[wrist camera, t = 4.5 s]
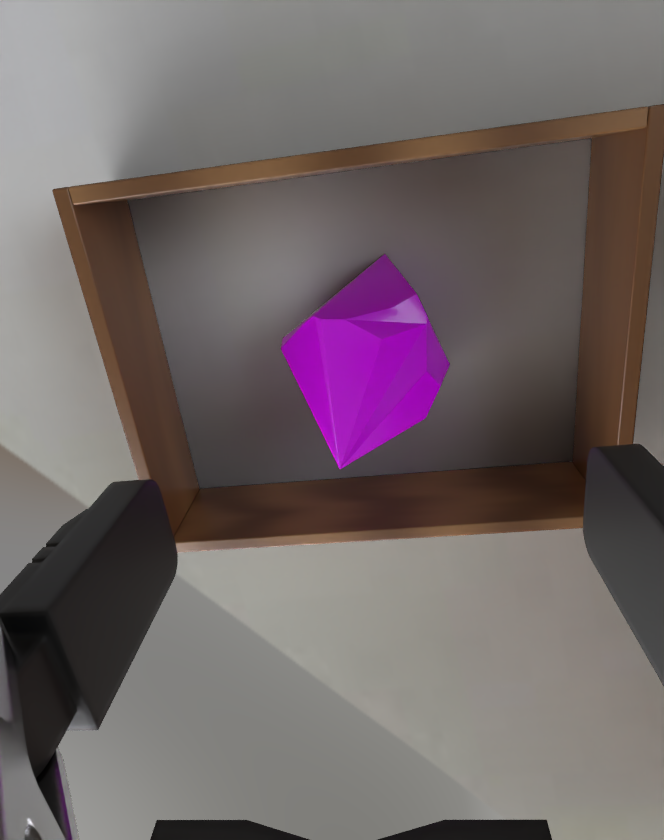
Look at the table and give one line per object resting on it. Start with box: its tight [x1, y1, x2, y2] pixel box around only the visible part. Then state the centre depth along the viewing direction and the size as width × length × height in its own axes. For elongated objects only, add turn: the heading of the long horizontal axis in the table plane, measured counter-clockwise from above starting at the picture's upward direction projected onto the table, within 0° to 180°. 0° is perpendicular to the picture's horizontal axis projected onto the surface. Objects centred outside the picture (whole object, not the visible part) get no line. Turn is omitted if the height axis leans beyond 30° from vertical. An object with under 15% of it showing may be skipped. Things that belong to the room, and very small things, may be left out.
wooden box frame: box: [53, 104, 664, 552], centre depth 19 cm, size 17×13×4 cm
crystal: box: [281, 254, 450, 469], centre depth 19 cm, size 5×5×5 cm
